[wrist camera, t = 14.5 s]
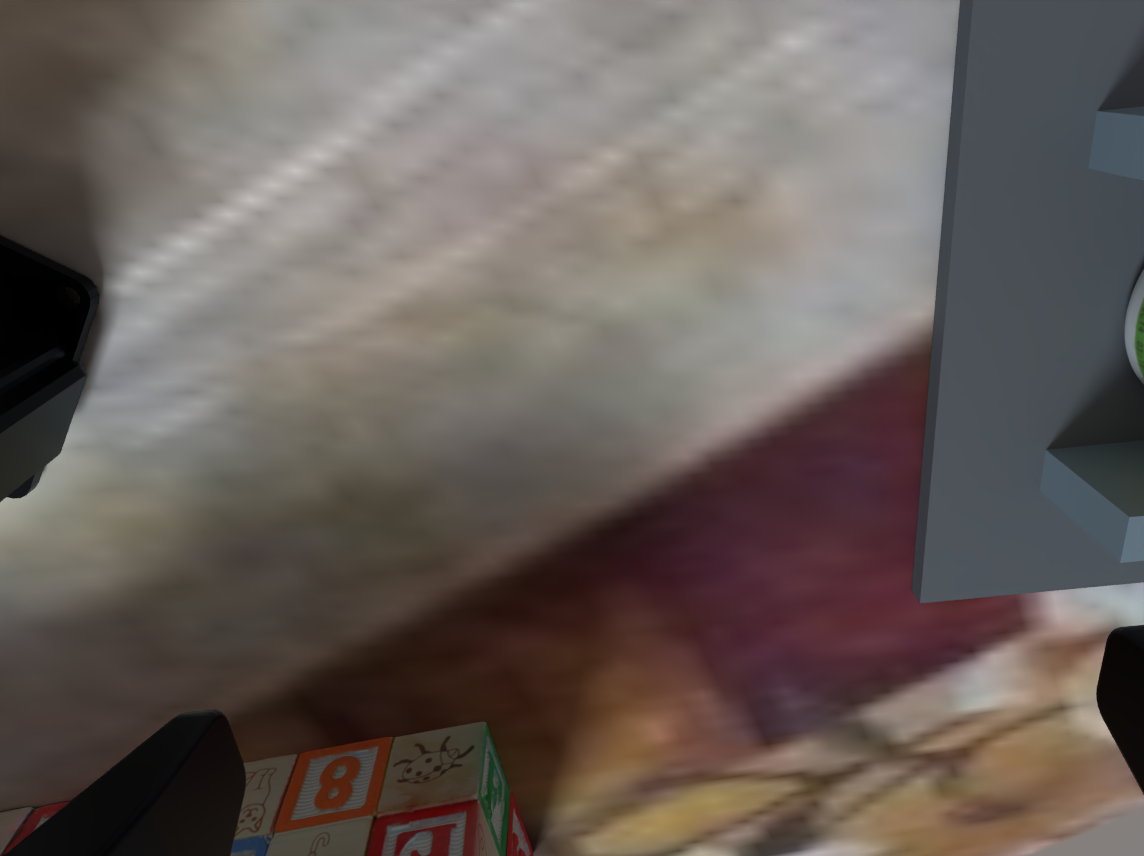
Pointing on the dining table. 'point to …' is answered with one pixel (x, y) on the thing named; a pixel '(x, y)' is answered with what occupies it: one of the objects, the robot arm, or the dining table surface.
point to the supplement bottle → (1136, 329)
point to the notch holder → (1037, 307)
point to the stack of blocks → (366, 801)
